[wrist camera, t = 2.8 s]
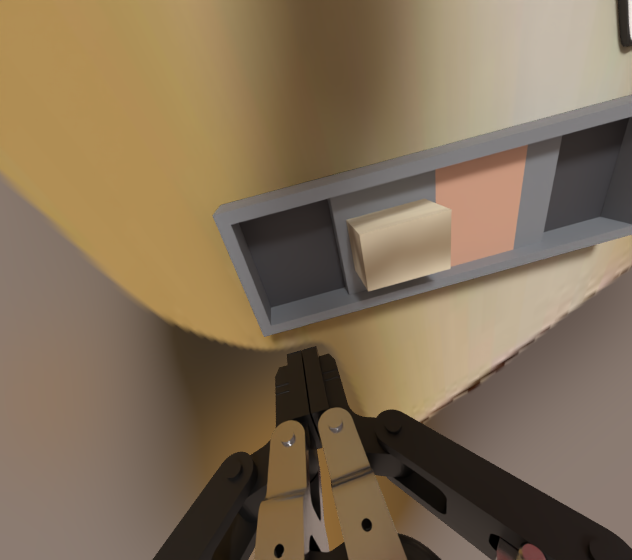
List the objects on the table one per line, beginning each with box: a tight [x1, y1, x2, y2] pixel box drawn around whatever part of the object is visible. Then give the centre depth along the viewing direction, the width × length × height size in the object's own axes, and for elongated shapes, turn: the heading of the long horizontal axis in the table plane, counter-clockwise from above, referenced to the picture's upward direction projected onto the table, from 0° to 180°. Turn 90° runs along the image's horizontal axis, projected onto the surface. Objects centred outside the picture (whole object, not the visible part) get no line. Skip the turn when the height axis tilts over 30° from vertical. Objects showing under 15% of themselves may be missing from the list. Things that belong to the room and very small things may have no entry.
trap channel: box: [213, 95, 632, 337], centre depth 25 cm, size 12×38×4 cm, turn 103°
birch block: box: [346, 199, 452, 292], centre depth 23 cm, size 5×7×4 cm
